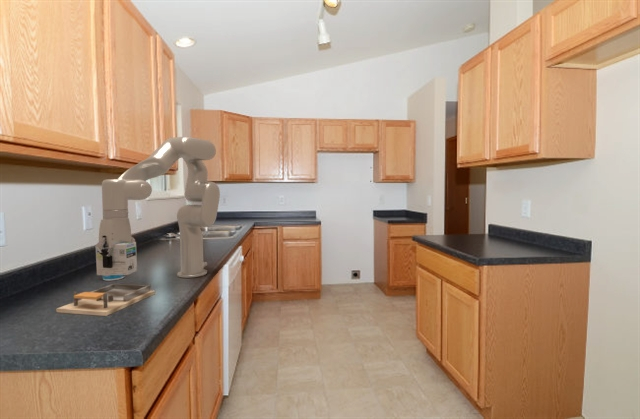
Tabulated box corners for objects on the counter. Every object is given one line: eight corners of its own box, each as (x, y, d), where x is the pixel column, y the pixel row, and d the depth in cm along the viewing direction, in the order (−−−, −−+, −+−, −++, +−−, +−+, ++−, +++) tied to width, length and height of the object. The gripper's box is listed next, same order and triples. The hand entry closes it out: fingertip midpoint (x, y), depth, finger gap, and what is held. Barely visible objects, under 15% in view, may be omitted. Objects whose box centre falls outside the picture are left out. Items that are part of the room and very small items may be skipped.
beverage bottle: (97, 281, 139) (95, 234, 138) (109, 276, 147) (107, 231, 146) (118, 281, 139) (116, 234, 138) (129, 275, 147) (127, 231, 146)
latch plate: (85, 294, 108) (84, 291, 107) (106, 295, 106) (106, 293, 106) (73, 298, 104) (73, 295, 104) (95, 299, 102) (95, 297, 102)
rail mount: (112, 291, 125) (111, 276, 125) (154, 293, 122) (154, 278, 121) (56, 312, 103) (55, 294, 103) (106, 316, 100) (105, 297, 100)
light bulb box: (137, 270, 119) (137, 241, 119) (127, 275, 112) (126, 244, 112) (107, 271, 119) (106, 241, 118) (95, 275, 112) (94, 244, 112)
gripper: (125, 213, 124) (126, 259, 125) (84, 216, 107) (86, 270, 108) (142, 213, 123) (144, 260, 123) (104, 216, 105) (106, 271, 106)
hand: (117, 264), depth 116 cm, fingers closed on light bulb box, 7 cm apart
